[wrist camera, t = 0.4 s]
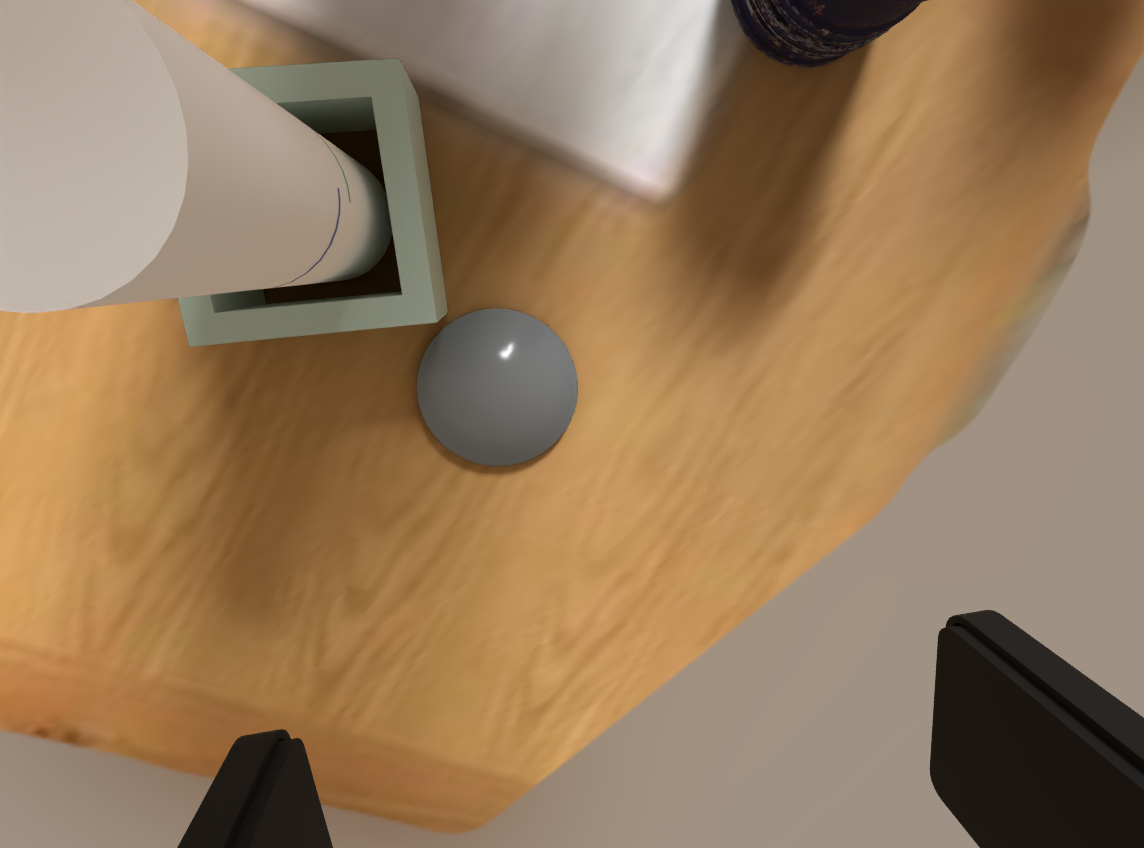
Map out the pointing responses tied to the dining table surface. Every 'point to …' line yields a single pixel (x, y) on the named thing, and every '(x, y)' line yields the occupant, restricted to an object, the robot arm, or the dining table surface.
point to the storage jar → (817, 26)
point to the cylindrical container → (159, 170)
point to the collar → (393, 109)
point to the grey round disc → (497, 387)
